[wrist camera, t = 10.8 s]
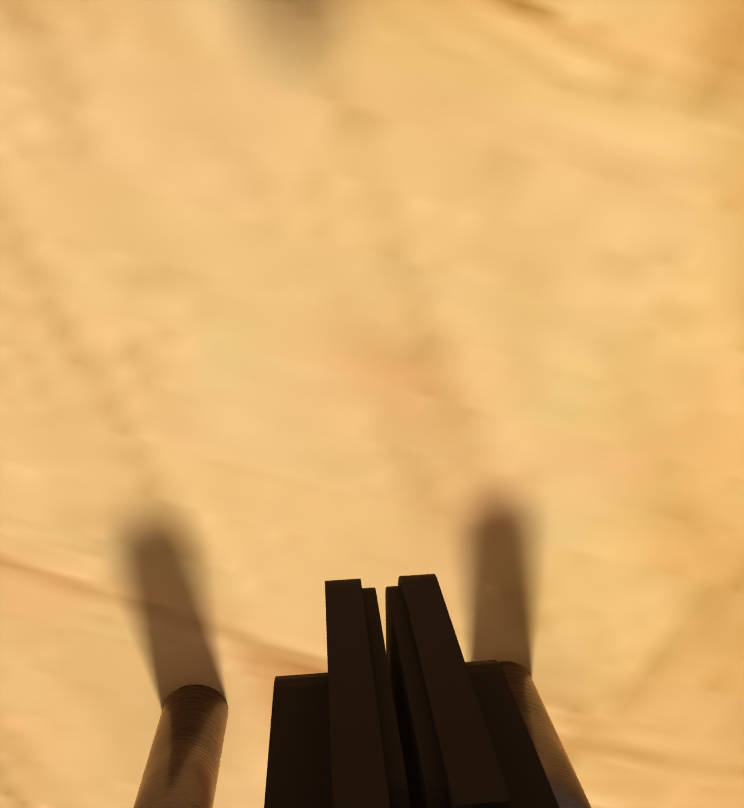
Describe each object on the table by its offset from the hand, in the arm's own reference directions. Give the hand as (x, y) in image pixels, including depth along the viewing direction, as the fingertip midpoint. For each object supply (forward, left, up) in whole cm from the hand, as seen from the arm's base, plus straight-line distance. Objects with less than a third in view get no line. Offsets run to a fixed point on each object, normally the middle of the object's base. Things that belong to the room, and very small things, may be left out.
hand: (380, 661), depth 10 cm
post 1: (+13, -6, -14) cm, 20 cm away
